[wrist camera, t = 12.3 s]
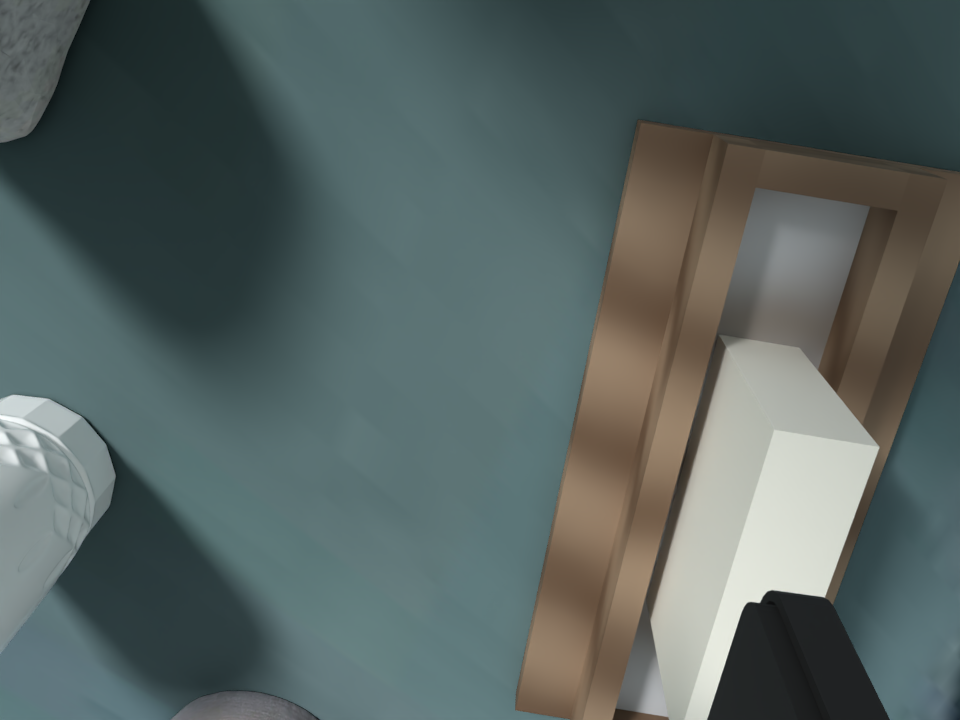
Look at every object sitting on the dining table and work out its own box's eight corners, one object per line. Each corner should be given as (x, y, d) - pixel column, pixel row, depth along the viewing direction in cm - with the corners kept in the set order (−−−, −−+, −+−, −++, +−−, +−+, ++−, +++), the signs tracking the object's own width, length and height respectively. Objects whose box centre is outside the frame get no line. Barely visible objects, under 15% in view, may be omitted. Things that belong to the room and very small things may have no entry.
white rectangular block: (718, 334, 32) (774, 429, 24) (799, 347, 32) (879, 447, 24) (646, 600, 36) (674, 750, 29) (717, 612, 36) (763, 764, 29)
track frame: (637, 119, 30) (649, 130, 27) (975, 174, 30) (1026, 192, 27) (515, 694, 40) (514, 751, 37) (772, 736, 40) (792, 797, 37)
